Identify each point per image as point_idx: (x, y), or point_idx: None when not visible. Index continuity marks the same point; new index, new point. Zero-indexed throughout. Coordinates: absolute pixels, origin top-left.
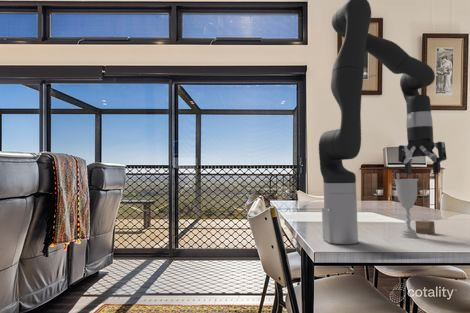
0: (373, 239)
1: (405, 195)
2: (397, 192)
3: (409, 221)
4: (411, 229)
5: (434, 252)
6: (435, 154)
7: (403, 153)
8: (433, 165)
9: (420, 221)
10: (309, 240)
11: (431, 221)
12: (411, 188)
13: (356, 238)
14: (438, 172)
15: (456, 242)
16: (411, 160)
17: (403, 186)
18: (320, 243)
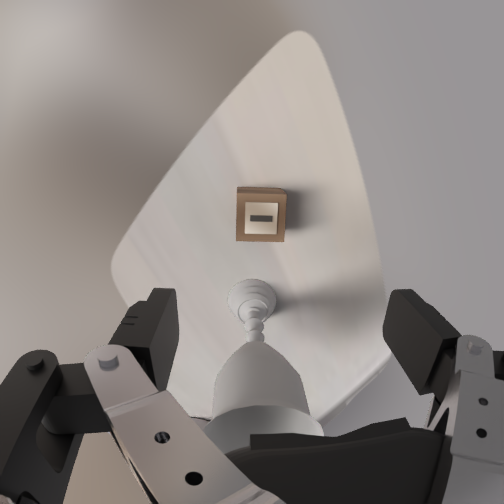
0: None
1: (271, 414)
2: (234, 418)
3: (261, 330)
4: (263, 315)
5: (353, 396)
6: (496, 397)
7: (43, 484)
8: (415, 378)
9: (252, 235)
10: None
11: (279, 203)
12: (296, 426)
13: None
14: (413, 294)
15: (366, 283)
16: (149, 392)
17: None
18: None
